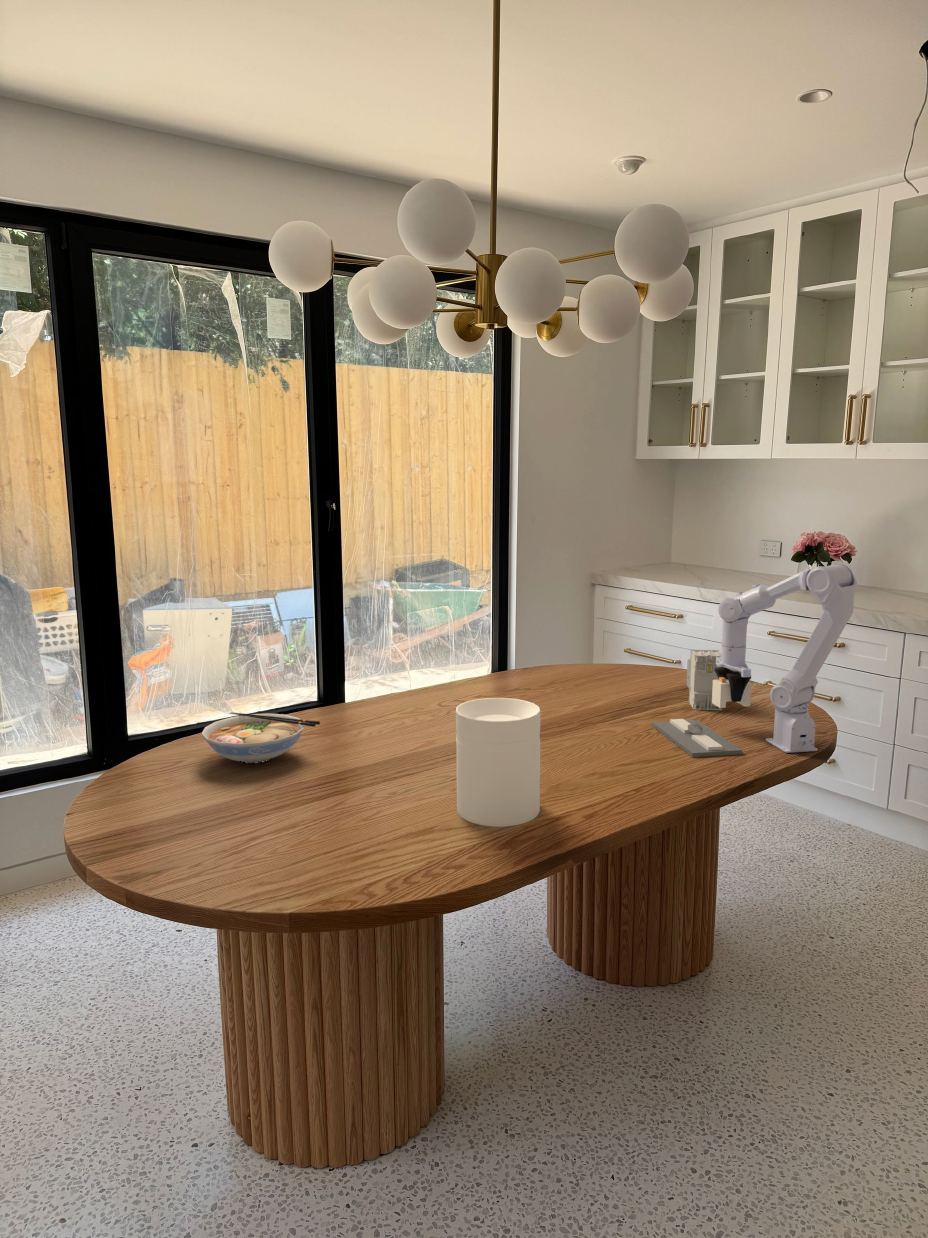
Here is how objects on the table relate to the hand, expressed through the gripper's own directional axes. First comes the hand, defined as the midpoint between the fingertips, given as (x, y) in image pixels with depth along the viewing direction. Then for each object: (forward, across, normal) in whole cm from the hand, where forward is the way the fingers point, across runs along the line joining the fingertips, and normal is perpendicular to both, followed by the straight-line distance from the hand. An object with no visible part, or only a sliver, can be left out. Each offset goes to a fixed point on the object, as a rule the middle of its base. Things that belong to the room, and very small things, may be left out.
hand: (731, 698), depth 205 cm
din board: (+8, +6, -12) cm, 16 cm away
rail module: (+2, 0, 0) cm, 2 cm away
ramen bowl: (+8, +1, -116) cm, 116 cm away
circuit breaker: (+8, -24, +4) cm, 26 cm away
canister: (+8, +39, -67) cm, 78 cm away
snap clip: (+6, +6, -12) cm, 15 cm away
